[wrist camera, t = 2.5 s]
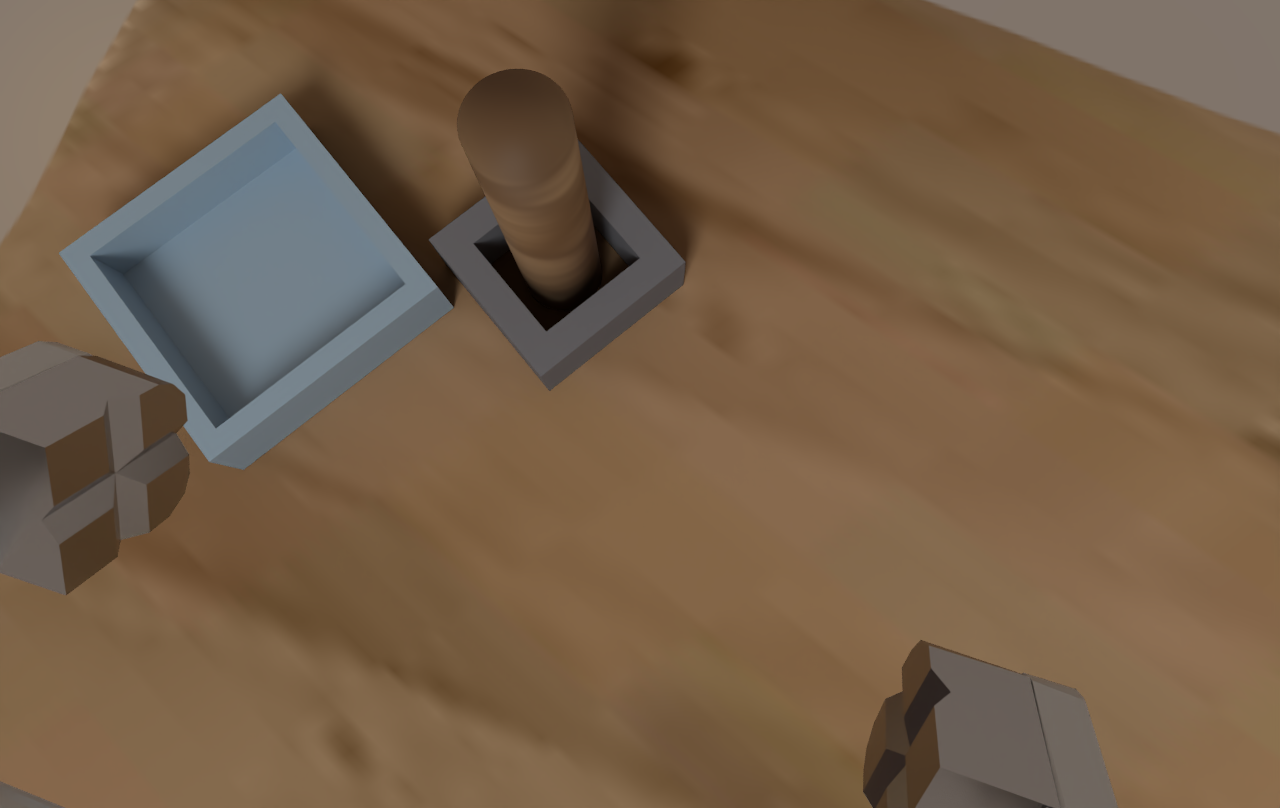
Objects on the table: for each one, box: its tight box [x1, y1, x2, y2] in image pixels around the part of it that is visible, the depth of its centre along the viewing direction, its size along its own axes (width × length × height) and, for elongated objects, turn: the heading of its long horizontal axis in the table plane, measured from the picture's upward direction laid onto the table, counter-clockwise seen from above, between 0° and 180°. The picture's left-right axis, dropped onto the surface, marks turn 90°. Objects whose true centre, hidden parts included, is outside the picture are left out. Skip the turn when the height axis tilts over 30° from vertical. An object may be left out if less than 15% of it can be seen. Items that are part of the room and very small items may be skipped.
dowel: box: [457, 69, 602, 311], centre depth 33 cm, size 4×4×14 cm
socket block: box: [429, 140, 685, 391], centre depth 38 cm, size 8×8×3 cm
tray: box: [59, 94, 454, 470], centre depth 39 cm, size 12×12×3 cm
